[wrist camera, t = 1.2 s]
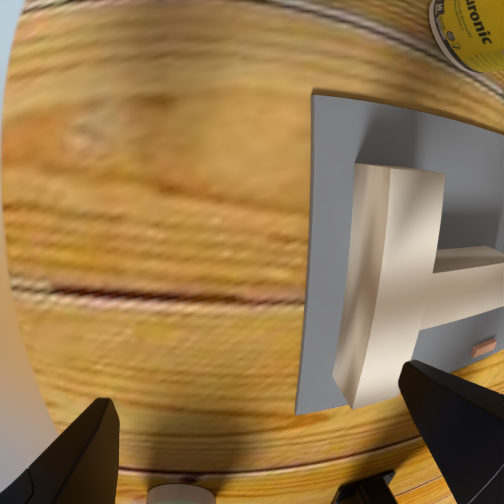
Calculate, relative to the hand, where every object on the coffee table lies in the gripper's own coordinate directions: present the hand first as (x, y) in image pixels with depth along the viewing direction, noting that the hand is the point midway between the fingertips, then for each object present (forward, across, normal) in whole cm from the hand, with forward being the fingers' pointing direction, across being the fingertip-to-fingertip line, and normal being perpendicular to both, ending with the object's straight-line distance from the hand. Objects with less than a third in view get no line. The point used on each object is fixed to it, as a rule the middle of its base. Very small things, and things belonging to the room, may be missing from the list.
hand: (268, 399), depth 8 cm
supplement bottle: (+7, -13, -15) cm, 22 cm away
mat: (+7, -17, 0) cm, 19 cm away
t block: (+7, -11, 0) cm, 13 cm away
